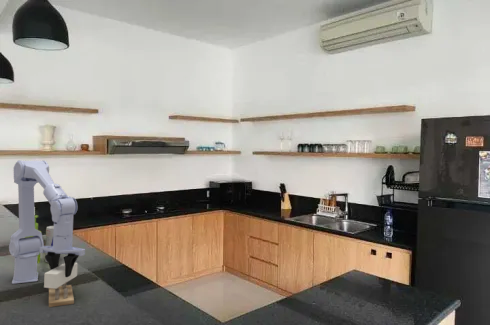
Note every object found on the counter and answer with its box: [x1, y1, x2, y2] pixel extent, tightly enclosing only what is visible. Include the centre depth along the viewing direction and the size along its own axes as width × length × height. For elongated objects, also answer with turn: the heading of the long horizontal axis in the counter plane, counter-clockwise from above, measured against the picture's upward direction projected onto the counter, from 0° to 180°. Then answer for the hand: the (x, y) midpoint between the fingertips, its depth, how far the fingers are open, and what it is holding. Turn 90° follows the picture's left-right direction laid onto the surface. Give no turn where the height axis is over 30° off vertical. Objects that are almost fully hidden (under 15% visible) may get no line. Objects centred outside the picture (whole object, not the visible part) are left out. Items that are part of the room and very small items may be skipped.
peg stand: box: [48, 282, 75, 308], centre depth 120 cm, size 14×7×4 cm, turn 29°
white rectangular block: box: [43, 262, 78, 289], centre depth 120 cm, size 12×4×4 cm, turn 175°
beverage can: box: [44, 225, 61, 263], centre depth 156 cm, size 6×6×15 cm
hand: (61, 275), depth 120 cm, fingers closed on white rectangular block, 4 cm apart
